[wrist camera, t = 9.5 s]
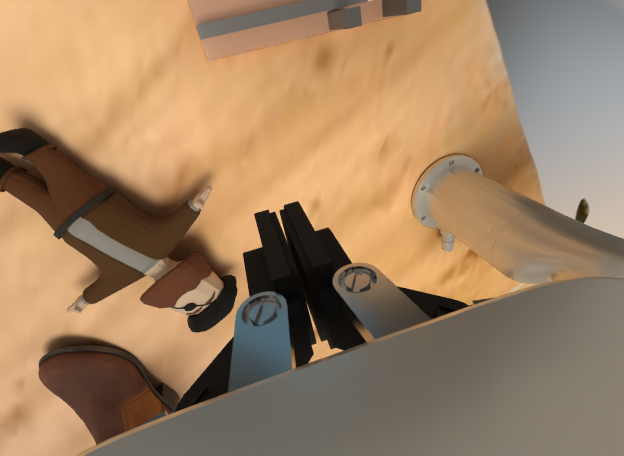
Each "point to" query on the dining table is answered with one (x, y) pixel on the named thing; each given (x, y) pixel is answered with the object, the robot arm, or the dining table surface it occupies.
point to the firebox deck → (282, 20)
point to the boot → (104, 388)
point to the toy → (117, 234)
